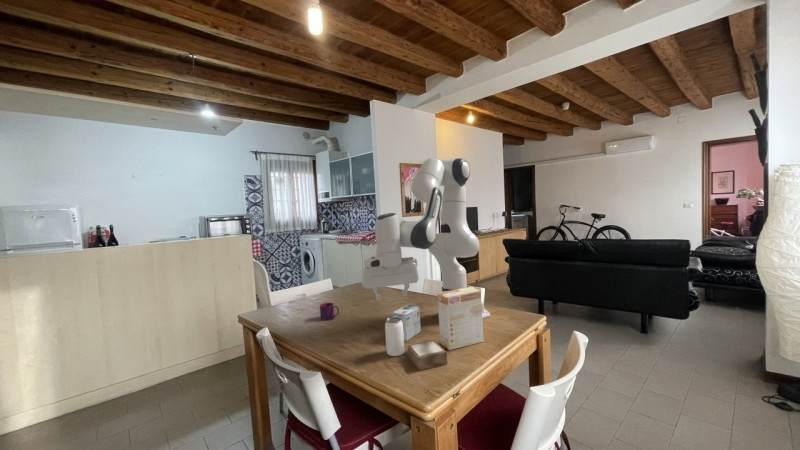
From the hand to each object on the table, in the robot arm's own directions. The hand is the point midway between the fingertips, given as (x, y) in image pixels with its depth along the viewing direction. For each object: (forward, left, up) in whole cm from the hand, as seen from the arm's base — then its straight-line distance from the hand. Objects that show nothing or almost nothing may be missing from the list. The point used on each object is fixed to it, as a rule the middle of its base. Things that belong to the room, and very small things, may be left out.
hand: (391, 297), depth 109 cm
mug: (+19, -49, -20) cm, 56 cm away
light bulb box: (-9, -13, -20) cm, 26 cm away
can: (0, 0, -20) cm, 20 cm away
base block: (-8, +10, -20) cm, 24 cm away
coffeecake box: (-25, +3, -20) cm, 32 cm away
